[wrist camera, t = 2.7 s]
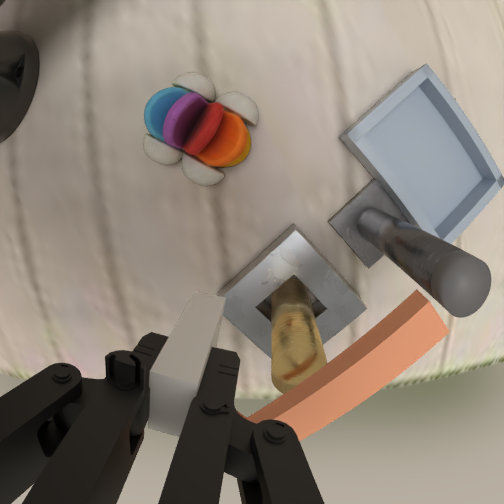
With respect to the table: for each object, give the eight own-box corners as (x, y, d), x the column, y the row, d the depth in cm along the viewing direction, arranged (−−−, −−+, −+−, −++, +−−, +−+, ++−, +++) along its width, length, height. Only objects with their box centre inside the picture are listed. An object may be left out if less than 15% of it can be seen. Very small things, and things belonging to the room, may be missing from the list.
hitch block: (217, 292, 32) (212, 305, 29) (293, 223, 29) (296, 230, 27) (285, 355, 33) (286, 371, 30) (359, 296, 31) (367, 308, 28)
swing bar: (220, 415, 19) (213, 447, 16) (448, 232, 15) (477, 245, 12) (252, 438, 19) (249, 470, 16) (470, 270, 15) (498, 288, 13)
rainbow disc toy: (226, 194, 29) (213, 204, 22) (139, 147, 28) (104, 144, 21) (272, 115, 27) (274, 99, 20) (182, 70, 26) (157, 46, 19)
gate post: (327, 221, 29) (382, 278, 14) (373, 178, 28) (466, 196, 13) (366, 266, 30) (436, 349, 15) (410, 225, 29) (507, 277, 14)
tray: (338, 137, 27) (346, 134, 24) (412, 71, 25) (426, 63, 22) (425, 247, 29) (439, 255, 26) (488, 179, 27) (505, 182, 24)
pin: (263, 294, 31) (259, 374, 19) (291, 270, 31) (304, 341, 18) (288, 318, 32) (296, 404, 19) (315, 295, 31) (340, 374, 19)
